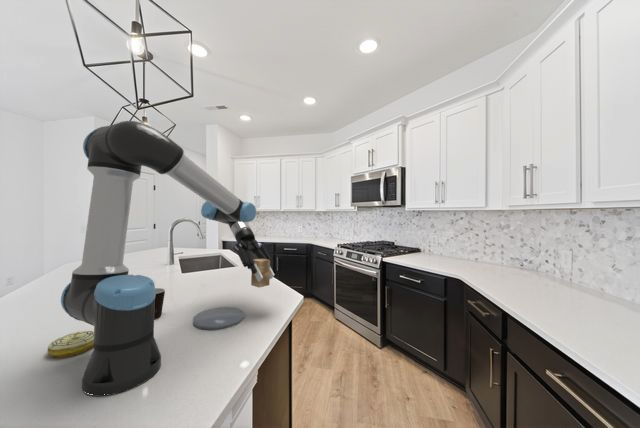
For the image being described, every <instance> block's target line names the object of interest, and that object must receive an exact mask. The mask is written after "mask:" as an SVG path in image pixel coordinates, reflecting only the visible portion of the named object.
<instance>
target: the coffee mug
mask: <svg viewBox="0 0 640 428" xmlns="http://www.w3.org/2000/svg"><path fill="white" fill-rule="evenodd" d="M155 292H156V296H155V310H154V321H155V320H157V319H160V318H162V314H163V313H162V312H163V307H164V301H165V300H164V299H165V294H166V288H162V287H160V288H159V287H157V288H156V287H155Z"/></svg>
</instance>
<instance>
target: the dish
mask: <svg viewBox="0 0 640 428" xmlns="http://www.w3.org/2000/svg"><path fill="white" fill-rule="evenodd" d="M244 319H245V311H244V310H243V309H241V308H239V307H235V306H219V307H212V308H208V309H205V310H202V311H200V312H198V313H197V314H196V315H194V316H193V318H192V325H193V327H194V328H196V329H199V330H202V331H219V330H224V329H228V328H231V327H234V326H237V325H238V324H240V323H241V322H242V321H243V320H244Z"/></svg>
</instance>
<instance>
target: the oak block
mask: <svg viewBox="0 0 640 428" xmlns="http://www.w3.org/2000/svg"><path fill="white" fill-rule="evenodd" d="M253 262H254V264H256V265H257V267H258V269H259V270H260V272H261V274H262V276H263V278H262V279H261V281H260V282H258V281H257V279H256V277H255V275H254V274H253V273H252V272H251V276H250V277H251V280H250V282H251V283H250V286H252V287H255V288H258V289H259V288H264V287H267V286H270V280H271V279H270V265H271V261H270V260H268V259H259V258H255V259H253Z"/></svg>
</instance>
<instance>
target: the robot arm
mask: <svg viewBox="0 0 640 428" xmlns="http://www.w3.org/2000/svg"><path fill="white" fill-rule="evenodd" d="M82 149H83V153H84V155H85V157H86V158H87V159H88V161H87V171H89V172H90V173H91V175H92V176H93V181H92V187H91V194H90V195H91V196H90V203H89V207H88V208H89V210H88V216H87V225H86V231H85V238H84V246H83V252H82V259H81V264H80V265H79V266H78V267H77V268H74V270H72V274H71V278H70V279H71V281H70V282H69V283H68V284H66V286H65V288H64V289H63V290H62V293H61V297H60V304H61V307H62V310H63V311H64V312H65V313H67V314H68V316H70V317H71V318H73V319H74V320H76V321H79V322H80V321H81V322H83V323H86V324H88V325H91V326H93V329H94V330H93V332H94V346H93V349H92V350H93V351H92V354H91V356H90V358H89V361H88V363H87V364H86V368H85V370H84V373H83V376H82V379H81V389H83V390H82V392H83V391H85V392H86V393H89V394H93V395H103V396H108V395H107V394H110V395H114V394H113V393H115V394H119V393H122V392H125V391H128V390H130V388H131V389H134V388H135V386H136V387H138V386H140V385H141V383H142V384H143V383H145V382H147V381H149V380H150V379H151V378H152V377H154V376H155V375H156V374H157V372H159V371H160V368H161V367H162V354H161V351H160V348H159V347H158V344H157V342H156V339H155V334H154V331H155V320H154V310H155V296H156V292H155V288H156V285H155V281H154V280H153V279H152V278H151V277H148V276H145V275H141V274H136V275H134V274H129V271H130V270H129V268H128V267H127V266H126V265H125V264H124V259H125V258H124V256H125V249H126V240H127V232H128V226H129V217H130V209H131V201H132V193H133V185H134V182H135V181H137V180H139V179H140V178H141V172H142V167H147V168H149V169H152V170H153V171H155V172H156V173H158V174H160V175H167V176H169V177H170V178H172V179H173V180H175V181H176V182H178V183H179V184H181V185H182V186H184V187H185V188H187V189H188V190H190V192H192V193H194V194H195V195H197V196H198V197H200V198H201V199H203V200H204V203H203V204H202V206H201V210H200V214H201V216H202V217H203V218H204V219H208V220H209V221H215V222H219V223H221V224H226V225H228V227H229V229H230V231H231V232H232V235H233V237H234V239H235V240H236V245H235V246H234V247H233V249H234V250H235V252H236V253H237V255H238V257H239V259H240V261H241V264H242V266H243V267H244V268H246V267H247V269H248V270H250V271H251V274H252V273H253V274H254V275H255V277H256V279H257V281H258V282H260V281H261V279H262V278H263V276H262V274H261V272H260V270H259V269H258V267H257V265H256V264H254V262H253V260H254V259H253V255H254V254H255V256H256V257H257V259H268V260H270V262H271V261H272V257H271V255H270V253H269V252H268V250H267V248H266V247H265V242H264V241H261V242H258V241H257V240H256V236H255V234H254V232H253V230H252V228H251V227H250V225H249V223H248V222H250V223H251V222H252V221H254V220H255V218H256V216H257V208H256V206H255V204H254V203H252V202H248V201H245V202H244V201H242V200H241V199H240V198H238V196H236V195H235V194H233V193H232V192H231V191H230V190H228V188H227V187H225V186H223V185H222V184H221V183H220V182H218V180H217V179H215V177H212V175H210V174H209V173H208V172H206V171H205V170H204V169H203V168H201V167H200V166H199V165H198V164H196V163H195V162H194V161H193V160H192V159H190V158H189V157H188V156H186V155H185V150H184V149H183V147H181V146H180V145H179V144H177V143H176V142H175V141H174V140H173V139H171V138H170V137H168V136H167V135H166V134H163V133H162V131H161V132H160V131H159V130H157V129H156V128H154V127H153V126H151V125H148V124H146V123H142V122H141V121H140V122H139V121H134V120H125V121H120V122H117V123H113V124H110V125H105V126H100V127H98V128H96V129H94V130H92V131H91V132H89V133H88V134H87V135H86V137H85V138H84V140H83V144H82ZM252 253H253V254H252ZM274 276H275V273H274V271H273V268H272V265H271V264H270V280H273V278H274ZM139 384H140V385H139ZM137 385H138V386H137ZM127 389H128V390H127ZM124 390H125V391H124ZM121 391H122V392H121ZM118 392H119V393H118ZM86 393H85V394H86ZM104 394H105V395H104ZM93 395H92V396H93Z"/></svg>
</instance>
